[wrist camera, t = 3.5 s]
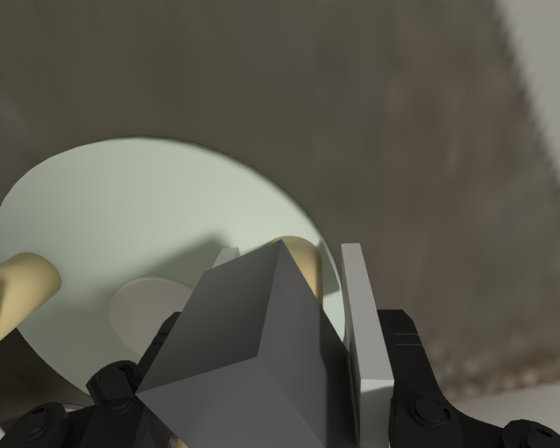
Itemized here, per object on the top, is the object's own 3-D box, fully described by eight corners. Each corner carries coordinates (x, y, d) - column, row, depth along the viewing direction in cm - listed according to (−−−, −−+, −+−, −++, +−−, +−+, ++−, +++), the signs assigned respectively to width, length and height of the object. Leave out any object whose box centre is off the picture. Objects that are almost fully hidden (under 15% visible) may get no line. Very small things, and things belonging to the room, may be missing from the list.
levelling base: (-51, 239, 18) (-93, 258, 16) (212, 45, 12) (194, 39, 11) (158, 432, 25) (145, 461, 23) (397, 364, 19) (406, 396, 17)
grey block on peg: (232, 222, 14) (121, 417, 6) (291, 194, 13) (251, 381, 5) (292, 317, 16) (269, 556, 8) (347, 298, 15) (380, 546, 7)
